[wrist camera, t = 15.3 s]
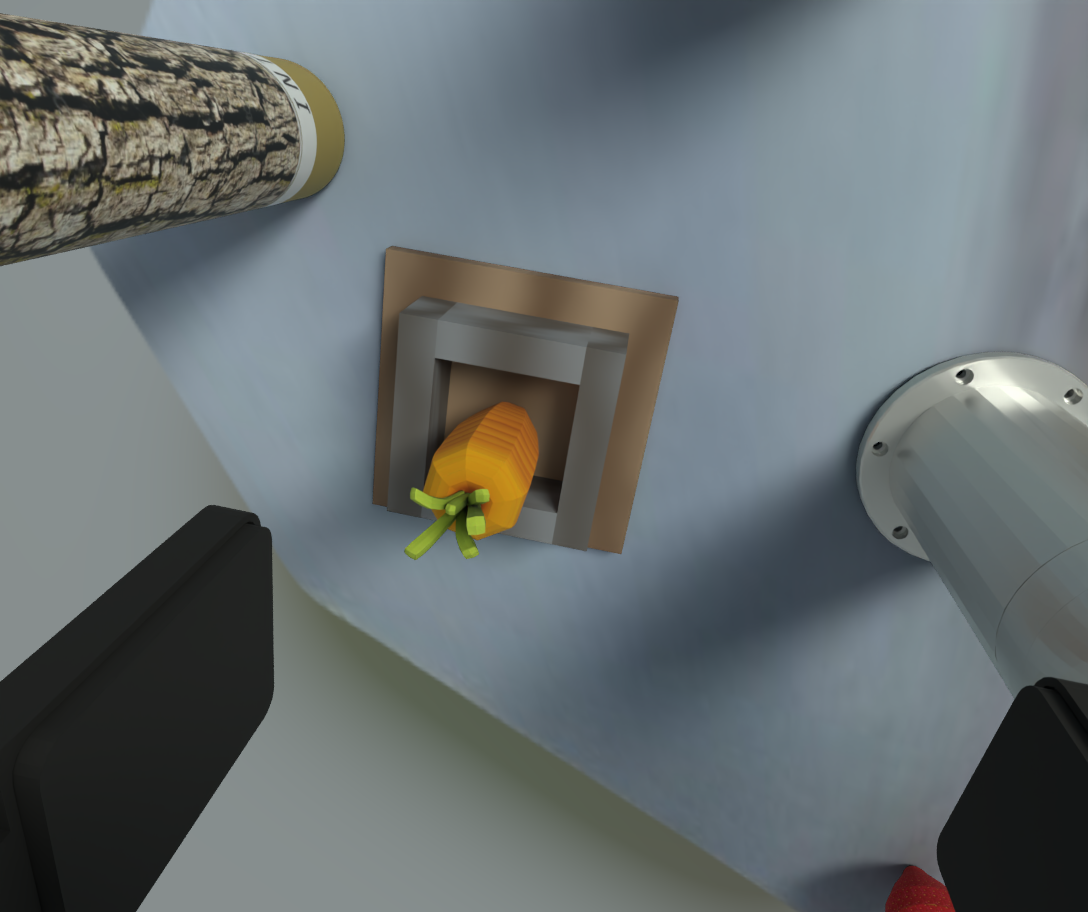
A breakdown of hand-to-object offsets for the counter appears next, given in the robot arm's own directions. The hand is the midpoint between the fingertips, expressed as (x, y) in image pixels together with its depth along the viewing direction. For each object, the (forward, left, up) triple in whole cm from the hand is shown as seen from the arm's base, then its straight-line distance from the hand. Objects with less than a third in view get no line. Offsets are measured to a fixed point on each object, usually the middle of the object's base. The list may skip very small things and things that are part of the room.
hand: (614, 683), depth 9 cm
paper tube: (+20, -3, -34) cm, 39 cm away
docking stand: (+6, +10, -33) cm, 35 cm away
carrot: (+6, +10, -32) cm, 34 cm away
